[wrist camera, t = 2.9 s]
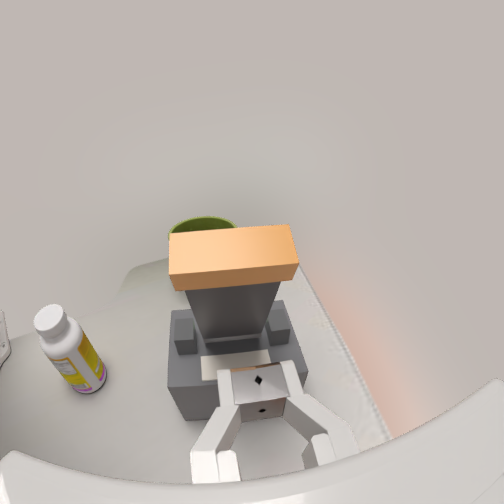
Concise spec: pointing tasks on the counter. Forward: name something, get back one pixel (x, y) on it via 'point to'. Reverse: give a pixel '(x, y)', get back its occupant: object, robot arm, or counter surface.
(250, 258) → the lever
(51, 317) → the supplement bottle
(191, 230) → the plant pot
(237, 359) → the box
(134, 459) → the counter surface
